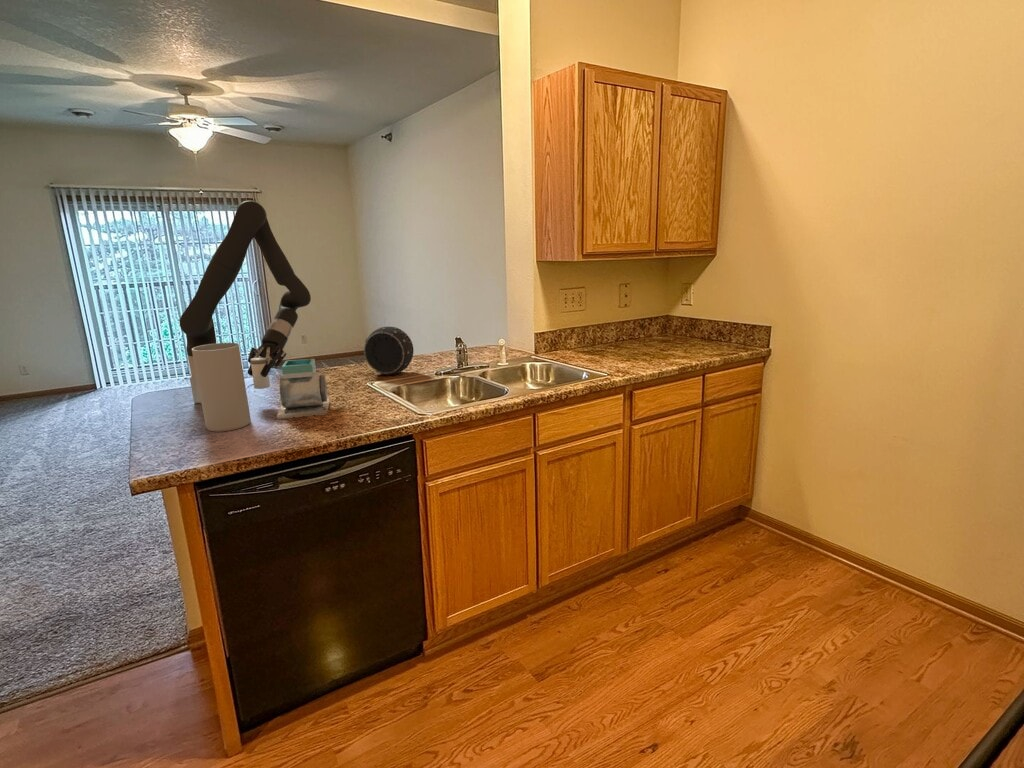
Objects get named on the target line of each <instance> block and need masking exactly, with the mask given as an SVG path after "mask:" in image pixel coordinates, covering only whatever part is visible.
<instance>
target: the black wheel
mask: <svg viewBox="0 0 1024 768" xmlns="http://www.w3.org/2000/svg"><path fill="white" fill-rule="evenodd" d="M364 342H365V343H364V348H363V354H364V357H365V360H366V363H367V365H369V367H370V368H372V369H373V370H374V371H375V373H380V374H382V375H386V376H390V375H395V374H399V373H401V372H402V371H404V370H405V369H406V368H408V366H409V365H410V364H411V362H412V360H413V357H414V346H413V342H412V340H411V337H410V336H409V335H408V334H407V333H406V332H405V331H404V330H402V329H400V328H399V327H396V326H383V327H379V328H376V329H375V330H372V332H371V333H370V334H369V335H368V337H367V338H366V339H365V340H364Z"/></svg>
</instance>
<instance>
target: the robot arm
mask: <svg viewBox="0 0 1024 768" xmlns="http://www.w3.org/2000/svg"><path fill="white" fill-rule="evenodd" d="M267 217H268V216H267V210H265V208H264V207H263V206H262V204H260V203H259V202H257V201H254V200H244V201H241V202H240V203H239V204H238V205H237V208H236V211H235V214H234V218H233V220H232V222H231V225H230V227H229V230H228V231H227V234H226V235H225V236H224V238H223V239H222V241H221V242H220V244H219V246H218V247H217V249H216V250H215V252H214V253H213V256H211V259H210V261H209V262H208V265H207V267H206V269H205V270H204V273H203V276H202V278H201V280H200V283H199V284H198V288H197V290H196V292H195V295H193V296H194V297H193V298H192V300H191V301H190V303H189V304H188V306H187V307H186V308H185V310H184V311H183V312H182V314H181V316H180V318H179V327H180V329H181V331H182V333H184V334H185V336H186V348H185V349H186V354H187V361H188V365H189V369H190V370H189V371H190V375H191V376H190V377H189V381H190V382H189V383H190V387H191V388H190V389H191V393H192V398H193V399H192V400H193V403H194V404H202V403H201V398H200V392H199V387H198V381H197V376H196V370H195V365H194V359H193V354H192V348H194V347H197V346H202V345H208V344H216V343H217V335H216V329H215V323H214V319H213V316H214V313H215V311H216V309H217V306H218V304H220V302H221V300H223V298H224V297H225V295H226V294H227V293H228V291H229V289H230V288H231V287H232V285H234V282H235V281H236V278H237V277H238V274H239V273H240V271H241V268H242V267H243V264H244V261H245V258H246V255H247V252H248V250H249V246H250V244H251V242H252V240H253V239H254V240H255V242H256V244H257V246H258V247H259V249H260V251H261V254H262V256H263V258H264V261H265V262H266V265H267V266H268V269H269V270H270V272H271V274H272V276H273V278H274V280H275V281H276V283H277V284H278V285H279V286H284V287H285V288H286V289H287V290H286V291H285V292H284V293H283V295H282V297H281V298H280V302H279V306H278V311H277V312H276V314H275V316H274V318H273V320H272V321H271V322H270V323H269V326H268V327H267V330H266V331H265V333H264V335H263V337H262V339H261V345H260V346H259V347H257V348H255V347H251V349H250V351H249V355H248V358H247V362H248V363H249V364H250V365H249V367H248V369H247V374H248V375H249V376H250V377H253V374H252V366H251V359H252V358H258V357H266V359H267V361H266V365H265V366H264V367H263V369H262V371H261V373H260V374H261V375H262V376H263V377H266V376H267V375H268V373H269V374H270V371H271V370H272V369H273V368H278V366H279V365H280V364H281V363H282V361H283V360H284V359H285V357H286V356H287V353H286V352H285V350H284V348H285V346H286V345H287V343H288V341H289V338H290V336H291V335H292V331H293V328H294V327H295V325H296V323H297V321H298V318H299V314H298V313H297V310H298V309H299V308H300V309H301V308H304V307H306V306H308V305H309V304H310V302H311V293H310V291H309V289H308V288H307V287H306V285H305V284H304V283H303V281H302V280H301V279H300V278H299V277H298V276H297V275H296V274H295V272H294V269H293V267H292V265H291V264H290V262H289V260H288V258H287V257H286V255H285V253H284V252H283V249H282V248H281V247H280V245H279V243H278V241H277V239H276V237H275V236H274V233H273V231H272V228H271V225H270V223H269V219H268V218H267Z"/></svg>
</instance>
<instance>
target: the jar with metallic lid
mask: <svg viewBox="0 0 1024 768" xmlns="http://www.w3.org/2000/svg"><path fill="white" fill-rule="evenodd" d="M266 361H267V359H266V357H260V356H259V357H258V358H252V359H251V364H250V365H251V366H252V374H253V376H252V380H253V381H252V382H253V387H254V389H255V390H263V389H268V388H270V387H271V384H270V382H271V381H270V376H269V374H270V372H269V373H268V375H267V376H266V377H263V376H262V375H261V374H260V373H261V371H262V369H263V367H264V366H265V365H266Z"/></svg>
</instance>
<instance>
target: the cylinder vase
mask: <svg viewBox="0 0 1024 768" xmlns="http://www.w3.org/2000/svg"><path fill="white" fill-rule="evenodd" d="M192 354H193V359H194V365H195V370H196V376H197V381H198V387H199V392H200V398H201V403H200V404H201V407H202V413H203V417H204V418H203V419H204V424H205V428H206V430H208V431H210V432H215V433H217V432H218V433H219V432H220V433H222V432H230V431H235V430H240V429H242V428H244V427H247V426H248V425H250V423H251V420H252V419H251V412H250V406H249V401H248V394H247V388H246V383H245V382H246V381H245V380H246V379H245V375H244V368H243V362H242V356H241V350H240V343H236V342H216V344H208V345H202V346H197V347H194V348H192Z"/></svg>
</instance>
